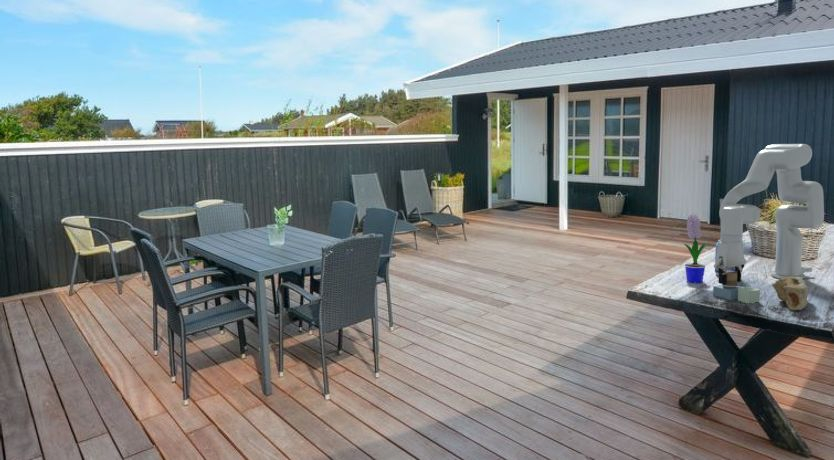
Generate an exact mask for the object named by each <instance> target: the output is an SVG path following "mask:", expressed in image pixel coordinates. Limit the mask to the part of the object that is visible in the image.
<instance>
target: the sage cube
mask: <svg viewBox="0 0 834 460" xmlns="http://www.w3.org/2000/svg"><path fill="white" fill-rule="evenodd" d="M760 291H761V289H758V288H755V287H751V286H746V287H744V288H738V299H737V301H738V302H740V301H741V303H744V302H745V303H744V304H747V303H748V304H747V305H750V304H749V303H752V304H756V303H755V302H759V303H760V297H761V296H760V295H761V294H760Z"/></svg>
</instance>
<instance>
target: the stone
mask: <svg viewBox="0 0 834 460" xmlns="http://www.w3.org/2000/svg"><path fill="white" fill-rule="evenodd" d="M772 287H773V289H774V291H775V292H776V295H777V298H778V299H779V300H781V301H782V302H784V303H785V304H786V306H787V308H788V309H789V310H790V311H802V310H803V309H805V308H806V306H807V305H808V303H809V301H808V298H809V297H808V296H809V288H808V285H807V283H806V281H805V280H804V278H803V279H802V278H801V277H783V278H778V280H776V282H773V283H772Z"/></svg>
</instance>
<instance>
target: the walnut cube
mask: <svg viewBox="0 0 834 460" xmlns="http://www.w3.org/2000/svg"><path fill="white" fill-rule="evenodd" d="M725 275H727V284H726V285H724V284H721V285H722V286H738V282H737V271H726V274H725Z"/></svg>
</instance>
